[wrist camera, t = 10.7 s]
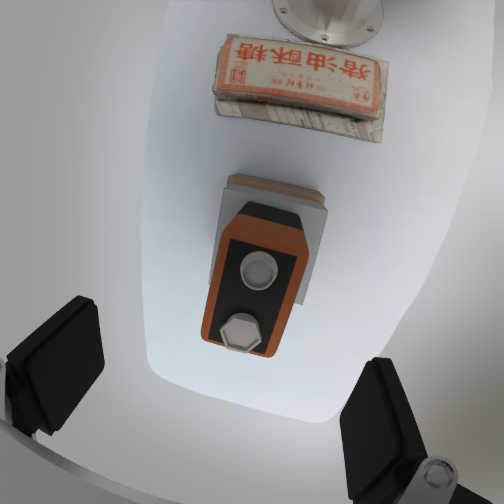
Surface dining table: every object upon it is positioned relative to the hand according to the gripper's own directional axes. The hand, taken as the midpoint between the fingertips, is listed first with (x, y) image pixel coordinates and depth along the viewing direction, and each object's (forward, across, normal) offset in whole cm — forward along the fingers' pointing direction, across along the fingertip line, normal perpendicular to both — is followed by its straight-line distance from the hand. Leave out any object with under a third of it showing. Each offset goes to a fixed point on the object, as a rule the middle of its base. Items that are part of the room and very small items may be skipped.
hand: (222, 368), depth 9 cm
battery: (+15, 0, +1) cm, 15 cm away
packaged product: (+26, -2, -15) cm, 30 cm away
